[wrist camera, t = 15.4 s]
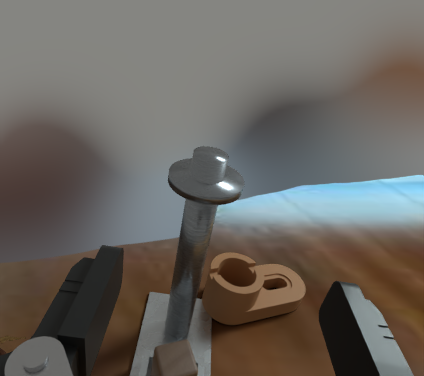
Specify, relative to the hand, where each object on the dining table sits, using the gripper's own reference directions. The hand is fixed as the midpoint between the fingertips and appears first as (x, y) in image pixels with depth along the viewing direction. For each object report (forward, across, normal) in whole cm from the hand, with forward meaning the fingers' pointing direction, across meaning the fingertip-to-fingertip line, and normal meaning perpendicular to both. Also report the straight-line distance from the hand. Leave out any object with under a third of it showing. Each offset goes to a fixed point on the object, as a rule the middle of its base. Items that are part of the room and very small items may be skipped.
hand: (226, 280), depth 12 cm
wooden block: (+11, 0, +32) cm, 34 cm away
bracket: (+28, -12, +32) cm, 44 cm away
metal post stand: (+16, 0, +32) cm, 36 cm away
